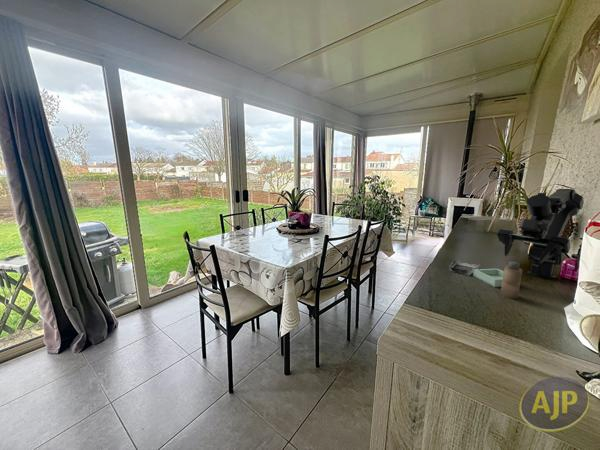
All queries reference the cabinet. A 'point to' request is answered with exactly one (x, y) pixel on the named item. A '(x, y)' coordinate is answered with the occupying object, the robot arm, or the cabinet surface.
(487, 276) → the tray
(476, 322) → the cabinet surface
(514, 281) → the pepper mill
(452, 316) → the cabinet surface
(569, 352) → the cabinet surface
